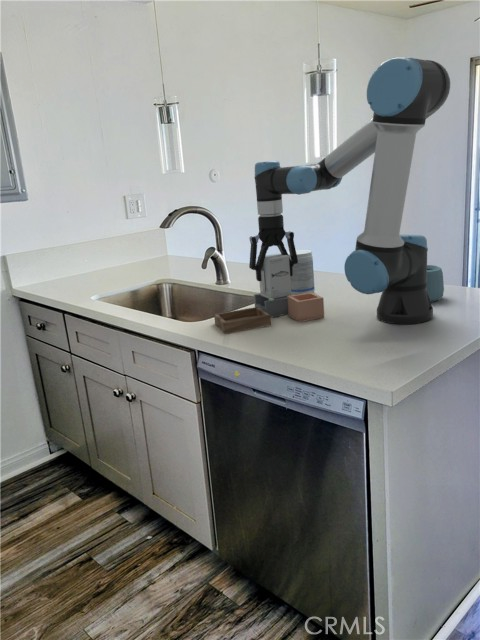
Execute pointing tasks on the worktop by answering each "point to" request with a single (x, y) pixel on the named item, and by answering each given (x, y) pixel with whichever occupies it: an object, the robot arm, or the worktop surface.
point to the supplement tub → (302, 273)
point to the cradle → (272, 304)
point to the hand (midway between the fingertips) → (275, 288)
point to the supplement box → (276, 276)
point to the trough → (242, 319)
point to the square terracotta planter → (305, 306)
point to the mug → (434, 282)
